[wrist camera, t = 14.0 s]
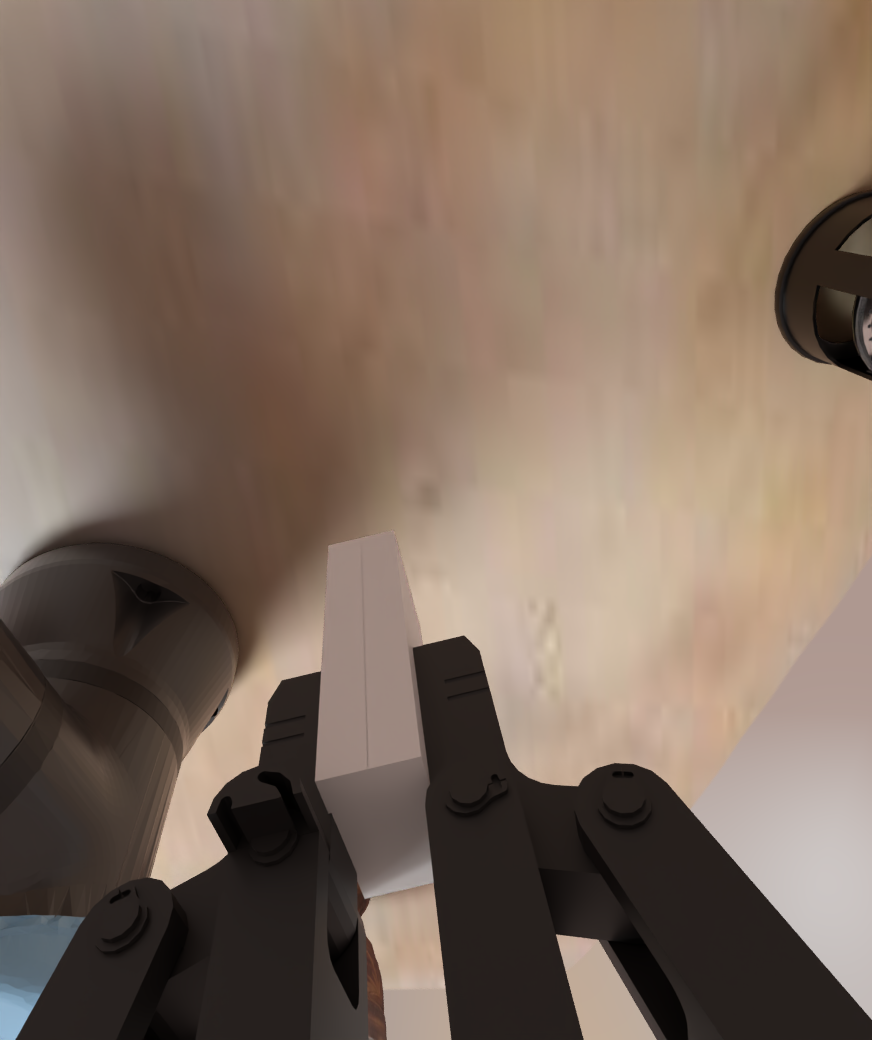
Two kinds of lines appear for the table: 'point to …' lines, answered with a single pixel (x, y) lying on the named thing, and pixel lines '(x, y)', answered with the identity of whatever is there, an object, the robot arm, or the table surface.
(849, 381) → the table surface
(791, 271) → the french press
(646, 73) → the table surface
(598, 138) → the table surface
